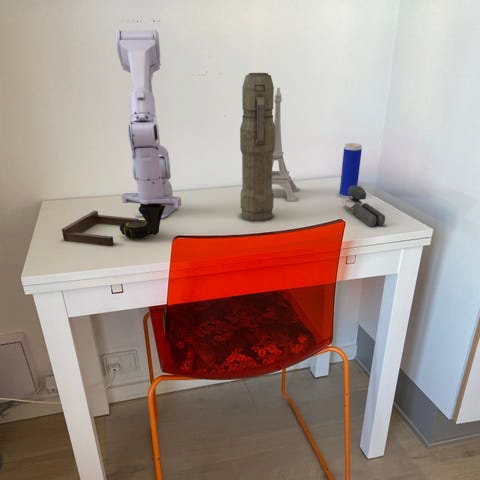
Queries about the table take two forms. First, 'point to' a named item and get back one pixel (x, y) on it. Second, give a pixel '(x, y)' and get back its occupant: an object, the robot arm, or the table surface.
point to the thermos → (257, 147)
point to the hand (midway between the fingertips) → (155, 233)
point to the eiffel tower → (281, 156)
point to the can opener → (363, 207)
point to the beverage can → (350, 168)
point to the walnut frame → (84, 223)
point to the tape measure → (135, 229)
